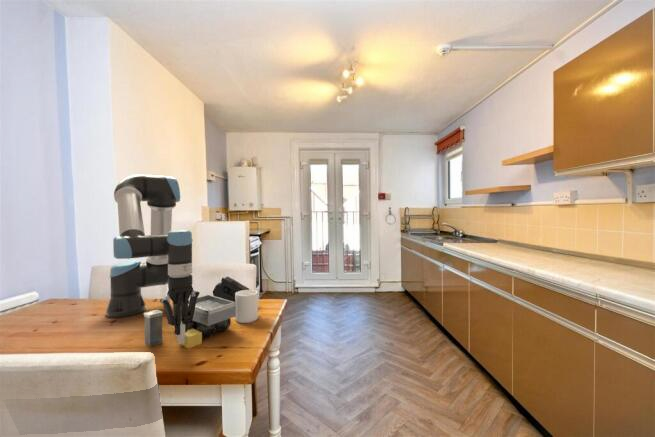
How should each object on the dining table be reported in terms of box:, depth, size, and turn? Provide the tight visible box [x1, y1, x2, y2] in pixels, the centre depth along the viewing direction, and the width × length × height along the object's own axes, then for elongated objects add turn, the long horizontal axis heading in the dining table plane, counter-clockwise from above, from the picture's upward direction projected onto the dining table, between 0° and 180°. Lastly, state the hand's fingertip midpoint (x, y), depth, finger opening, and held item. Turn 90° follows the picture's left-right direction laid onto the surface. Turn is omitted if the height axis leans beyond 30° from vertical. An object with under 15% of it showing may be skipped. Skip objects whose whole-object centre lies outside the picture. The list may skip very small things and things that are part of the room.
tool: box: [212, 276, 251, 302], centre depth 142 cm, size 6×19×15 cm
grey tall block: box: [143, 309, 164, 347], centre depth 103 cm, size 4×4×11 cm
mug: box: [235, 289, 260, 324], centre depth 127 cm, size 10×12×12 cm
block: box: [180, 329, 203, 349], centre depth 103 cm, size 6×5×4 cm
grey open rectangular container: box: [187, 294, 236, 339], centre depth 113 cm, size 18×13×12 cm
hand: (181, 342), depth 100 cm, fingers closed
